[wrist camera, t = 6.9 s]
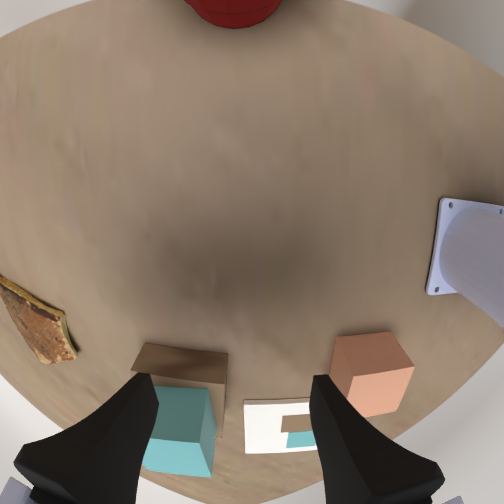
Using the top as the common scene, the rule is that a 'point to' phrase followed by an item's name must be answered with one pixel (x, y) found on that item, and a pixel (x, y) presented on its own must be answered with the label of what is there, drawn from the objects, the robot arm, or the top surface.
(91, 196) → the top surface
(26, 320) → the shard
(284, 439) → the card
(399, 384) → the terracotta block
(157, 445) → the teal block
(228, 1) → the plastic cup
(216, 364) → the walnut block
